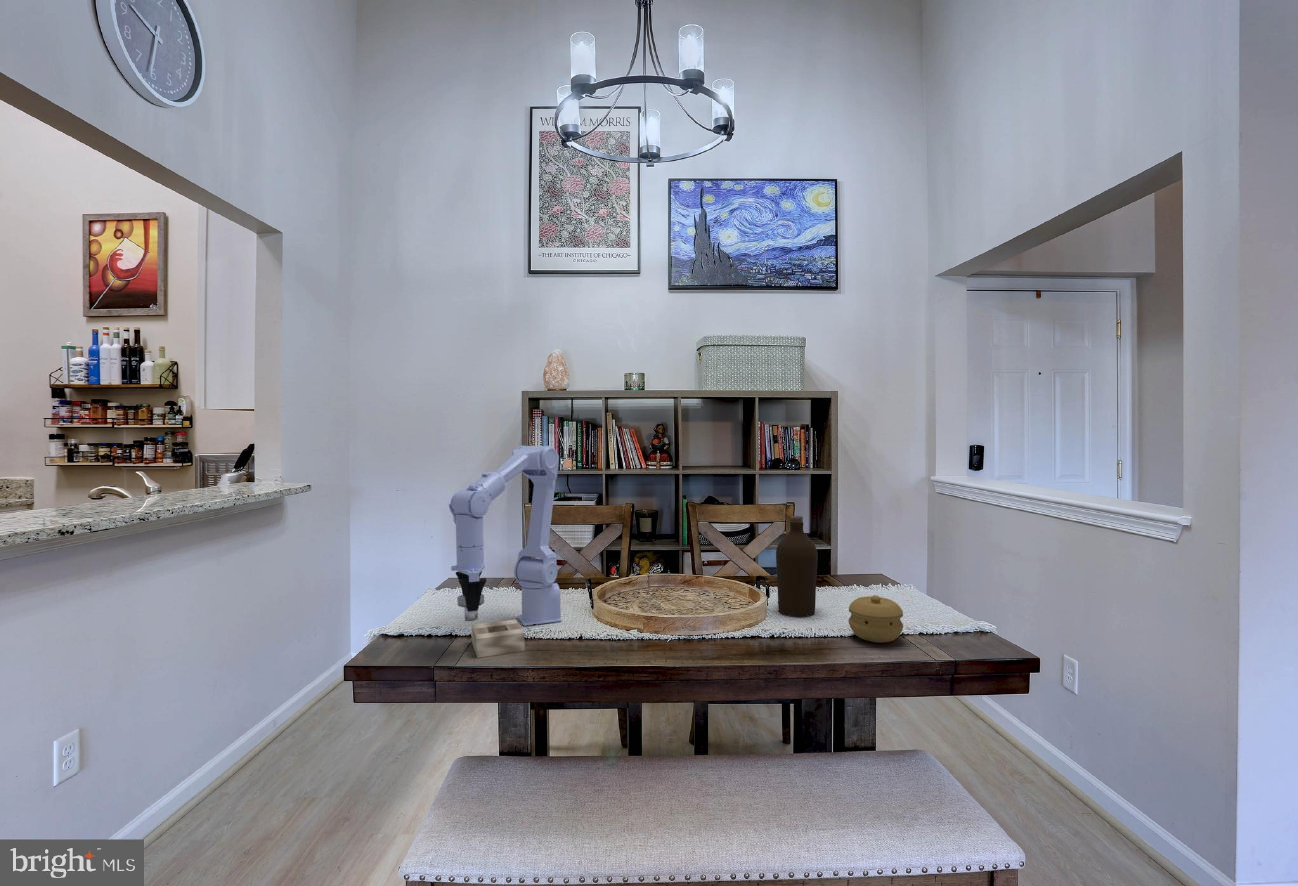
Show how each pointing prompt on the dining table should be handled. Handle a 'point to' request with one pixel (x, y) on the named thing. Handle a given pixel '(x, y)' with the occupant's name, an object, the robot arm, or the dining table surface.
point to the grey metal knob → (462, 603)
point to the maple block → (497, 638)
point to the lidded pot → (875, 619)
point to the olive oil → (796, 572)
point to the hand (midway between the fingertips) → (471, 606)
